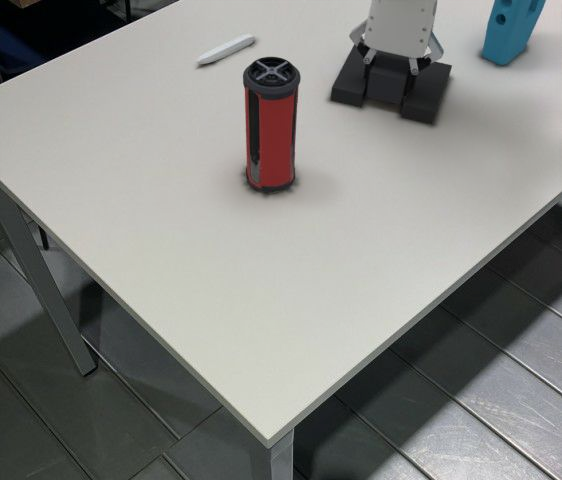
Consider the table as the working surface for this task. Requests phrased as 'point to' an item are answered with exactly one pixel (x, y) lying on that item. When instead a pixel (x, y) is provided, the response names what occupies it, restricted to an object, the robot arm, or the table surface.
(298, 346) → the table surface
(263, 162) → the speaker
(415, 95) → the base pad
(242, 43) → the pen
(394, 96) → the plug pad
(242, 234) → the table surface
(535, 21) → the block
